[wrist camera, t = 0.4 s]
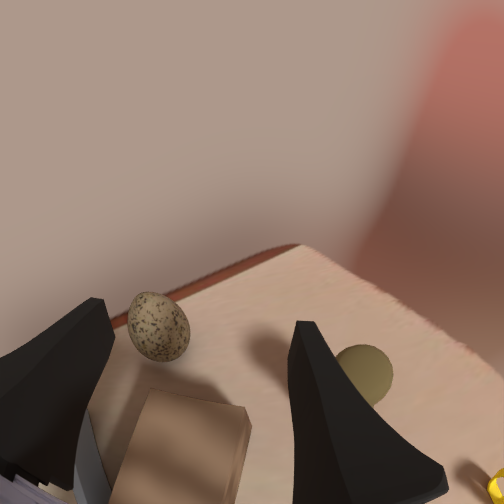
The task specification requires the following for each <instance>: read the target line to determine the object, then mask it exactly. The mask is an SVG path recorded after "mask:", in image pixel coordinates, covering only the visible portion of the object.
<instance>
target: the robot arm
mask: <svg viewBox="0 0 504 504" xmlns="http://www.w3.org/2000/svg"><path fill="white" fill-rule="evenodd" d="M114 340H115V334H114V331H113V328H112V325H111V322H110V319H109V316H108V313H107V309H106V306H105V303H104V300H103V299H97V298H92V297H91V298H89V299H88V300H86V301H85V302H83V303H82V304H80V305H79V306H77V307H76V308H75V309H73V310H72V311H71V312H69V313H68V314H67V315H65V316H64V317H63V318H61V319H60V320H59V321H57V322H56V323H55V324H53V325H52V326H50V327H49V328H48V329H46V330H45V331H43V332H42V333H40V334H39V335H38V336H36V337H35V338H33V339H32V340H31V341H29V342H28V343H26V344H24V345H23V346H21V347H20V348H18V349H16V350H14V351H13V352H11V353H9V354H7V355H5V356H3V357H1V358H0V504H68V503H66V502H64V501H62V500H60V499H58V498H56V497H55V496H53V495H51V494H49V493H47V492H45V491H44V490H42V489H40V488H39V487H38V484H39V482H40V483H42V484H44V485H45V486H48V484H49V482H50V483H52V484H54V485H56V486H58V487H60V488H62V489H64V490H66V491H69V490H72V489H73V488H74V468H75V459H76V451H77V445H78V440H79V435H80V430H81V426H82V422H83V419H84V415H85V411H86V408H87V406H88V403H89V401H90V398H91V396H92V394H93V391H94V389H95V387H96V385H97V383H98V380H99V378H100V376H101V374H102V372H103V370H104V367H105V365H106V363H107V361H108V359H109V356H110V353H111V350H112V346H113V343H114ZM288 389H289V398H290V406H291V414H292V423H293V431H294V488H293V504H425V503H427V502H429V501H431V500H434V499H436V498H438V497H440V496H442V495H444V494H445V493H447V492H448V490H449V486H448V482H447V477H446V474H445V471H444V468H443V466H442V465H440V464H439V463H437V462H436V461H434V460H432V459H431V458H429V457H428V456H426V455H425V454H423V453H422V452H420V451H419V450H418V449H416V448H415V447H414V446H412V445H411V444H410V443H409V442H407V441H406V440H405V439H404V438H403V437H402V436H400V435H399V434H398V433H397V432H396V431H395V430H394V429H393V428H392V427H391V426H390V425H388V424H387V423H386V422H385V421H384V420H383V419H382V418H381V417H380V415H379V414H378V413H377V412H376V411H375V410H374V409H373V408H372V407H371V406H370V404H369V403H368V402H367V401H366V400H365V399H364V397H363V396H362V395H361V394H360V392H359V391H358V390H357V388H356V387H355V386H354V384H353V383H352V382H351V380H350V379H349V378H348V376H347V375H346V373H345V372H344V370H343V369H342V367H341V366H340V364H339V363H338V361H337V360H336V358H335V356H334V355H333V353H332V352H331V350H330V348H329V347H328V345H327V343H326V341H325V340H324V338H323V336H322V334H321V333H320V331H319V329H318V327H317V325H316V324H315V322H314V321H297V322H296V326H295V330H294V334H293V338H292V342H291V346H290V350H289V354H288Z"/></svg>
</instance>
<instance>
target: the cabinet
mask: <svg viewBox="0 0 504 504" xmlns="http://www.w3.org/2000/svg"><path fill="white" fill-rule="evenodd" d="M251 429H252V425H251V422H250V420H249V417H248V415H247V412H246V409H245V407H242V406H235V405H228V404H222V403H217V402H211V401H206V400H201V399H196V398H191V397H186V396H182V395H178V394H173V393H169V392H165V391H161V390H157V389H154V388H151V389H150V391H149V394H148V396H147V399H146V401H145V404H144V406H143V409H142V411H141V414H140V416H139V419H138V422H137V424H136V427H135V430H134V432H133V435H132V437H131V440H130V443H129V446H128V448H127V451H126V454H125V456H124V459H123V462H122V465H121V468H120V470H119V473H118V476H117V479H116V482H115V485H114V488H113V491H112V494H111V497H110V500H109V503H108V504H234V503H235V499H236V495H237V491H238V487H239V482H240V478H241V474H242V470H243V465H244V461H245V456H246V452H247V447H248V443H249V438H250V433H251Z"/></svg>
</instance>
